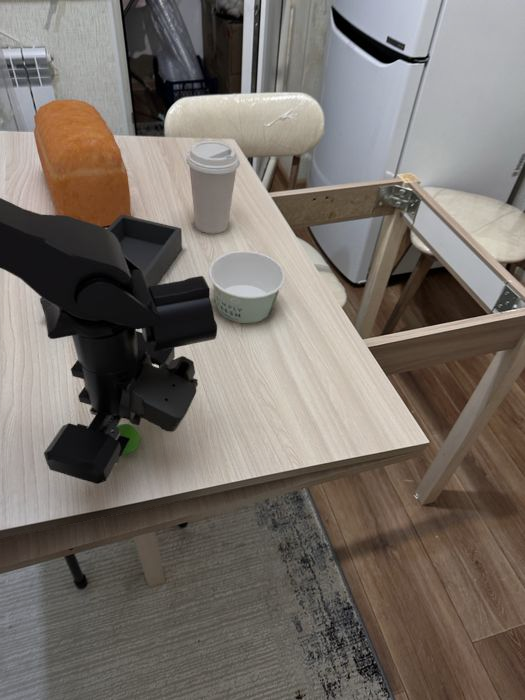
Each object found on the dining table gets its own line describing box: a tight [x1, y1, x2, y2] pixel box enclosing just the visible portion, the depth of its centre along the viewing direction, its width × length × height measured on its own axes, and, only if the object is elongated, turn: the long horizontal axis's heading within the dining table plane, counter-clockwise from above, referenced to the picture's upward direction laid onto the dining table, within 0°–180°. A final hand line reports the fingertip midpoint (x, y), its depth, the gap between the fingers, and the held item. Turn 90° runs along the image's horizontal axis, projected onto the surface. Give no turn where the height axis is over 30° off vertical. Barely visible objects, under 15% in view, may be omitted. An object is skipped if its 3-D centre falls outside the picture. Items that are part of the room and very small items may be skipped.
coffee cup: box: [185, 140, 241, 235], centre depth 91 cm, size 10×10×15 cm
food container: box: [208, 250, 286, 324], centre depth 78 cm, size 12×12×6 cm
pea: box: [117, 423, 141, 455], centre depth 58 cm, size 4×4×4 cm
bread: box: [33, 99, 132, 228], centre depth 94 cm, size 14×26×16 cm, turn 25°
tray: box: [39, 214, 183, 316], centre depth 80 cm, size 12×26×4 cm, turn 165°
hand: (125, 442), depth 59 cm, fingers open, 5 cm apart
